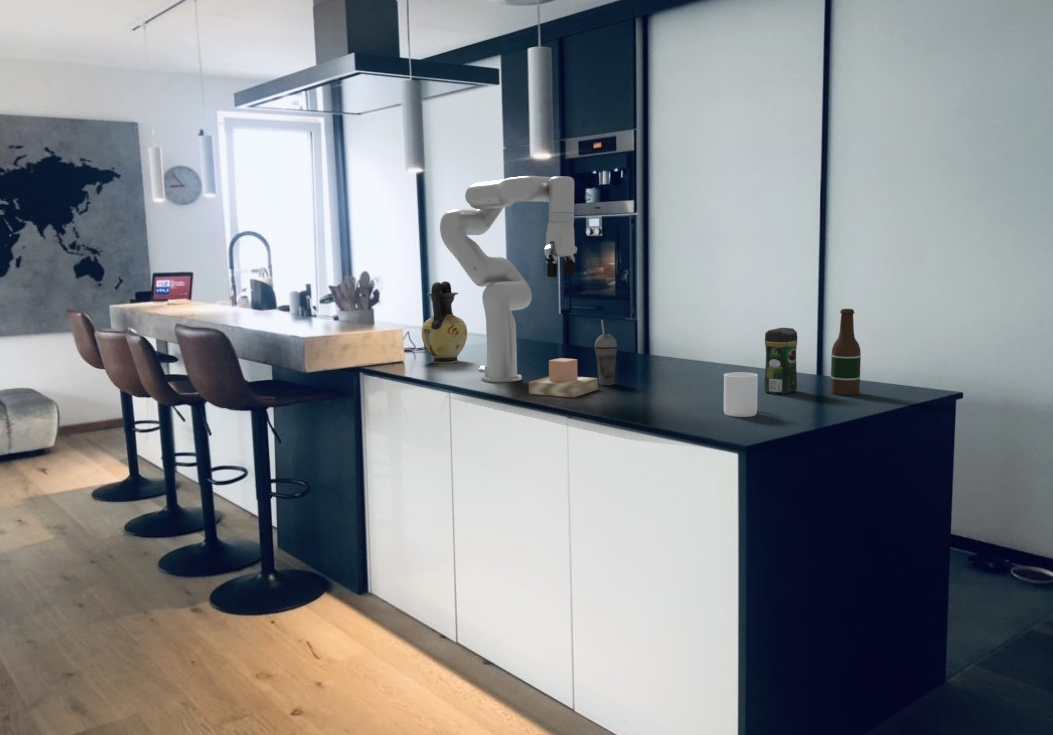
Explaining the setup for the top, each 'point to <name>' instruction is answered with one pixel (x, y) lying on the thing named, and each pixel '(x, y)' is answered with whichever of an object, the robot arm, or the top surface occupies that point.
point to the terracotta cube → (563, 370)
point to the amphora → (443, 326)
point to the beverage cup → (606, 357)
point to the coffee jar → (780, 361)
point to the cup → (740, 394)
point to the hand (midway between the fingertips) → (560, 276)
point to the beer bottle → (846, 358)
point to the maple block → (563, 387)
